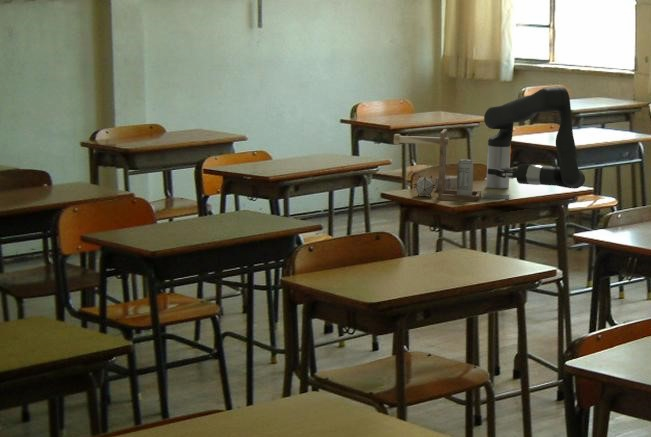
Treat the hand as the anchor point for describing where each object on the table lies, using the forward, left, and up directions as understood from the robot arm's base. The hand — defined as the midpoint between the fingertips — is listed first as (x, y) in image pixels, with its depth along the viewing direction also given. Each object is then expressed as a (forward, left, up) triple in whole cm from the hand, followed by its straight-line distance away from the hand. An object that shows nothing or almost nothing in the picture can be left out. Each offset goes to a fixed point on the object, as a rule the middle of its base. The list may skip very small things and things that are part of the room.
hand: (488, 171), depth 468 cm
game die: (-4, -25, -12) cm, 28 cm away
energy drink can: (-4, -9, -12) cm, 15 cm away
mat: (-10, +3, -12) cm, 15 cm away
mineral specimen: (-22, -17, -12) cm, 31 cm away
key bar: (-4, -27, +9) cm, 28 cm away
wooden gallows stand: (-4, -10, -12) cm, 16 cm away
